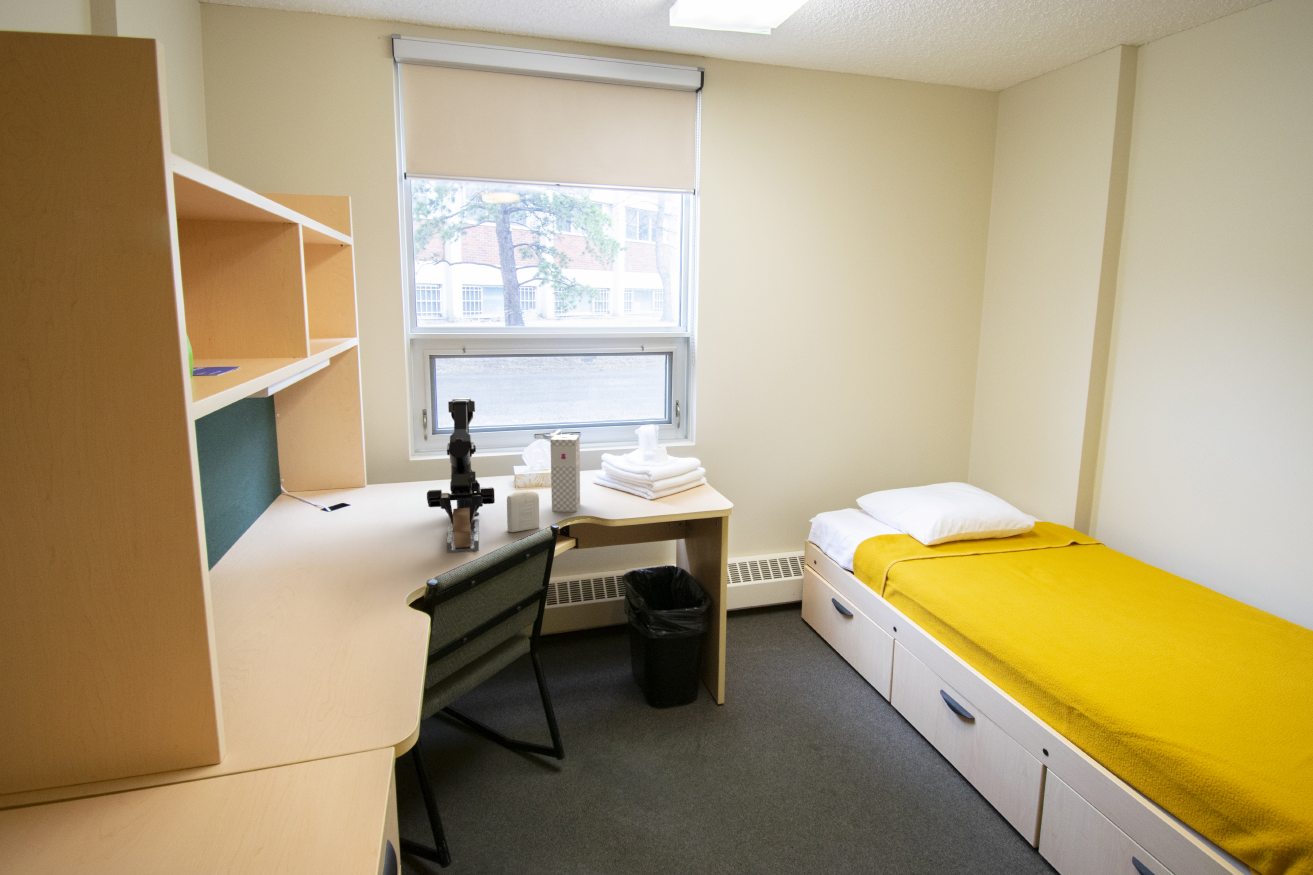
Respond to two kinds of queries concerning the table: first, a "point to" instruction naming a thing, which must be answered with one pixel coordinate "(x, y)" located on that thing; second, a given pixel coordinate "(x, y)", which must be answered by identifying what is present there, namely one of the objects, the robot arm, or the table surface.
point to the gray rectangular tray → (473, 538)
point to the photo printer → (522, 511)
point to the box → (565, 473)
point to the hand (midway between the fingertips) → (461, 523)
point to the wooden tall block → (462, 527)
